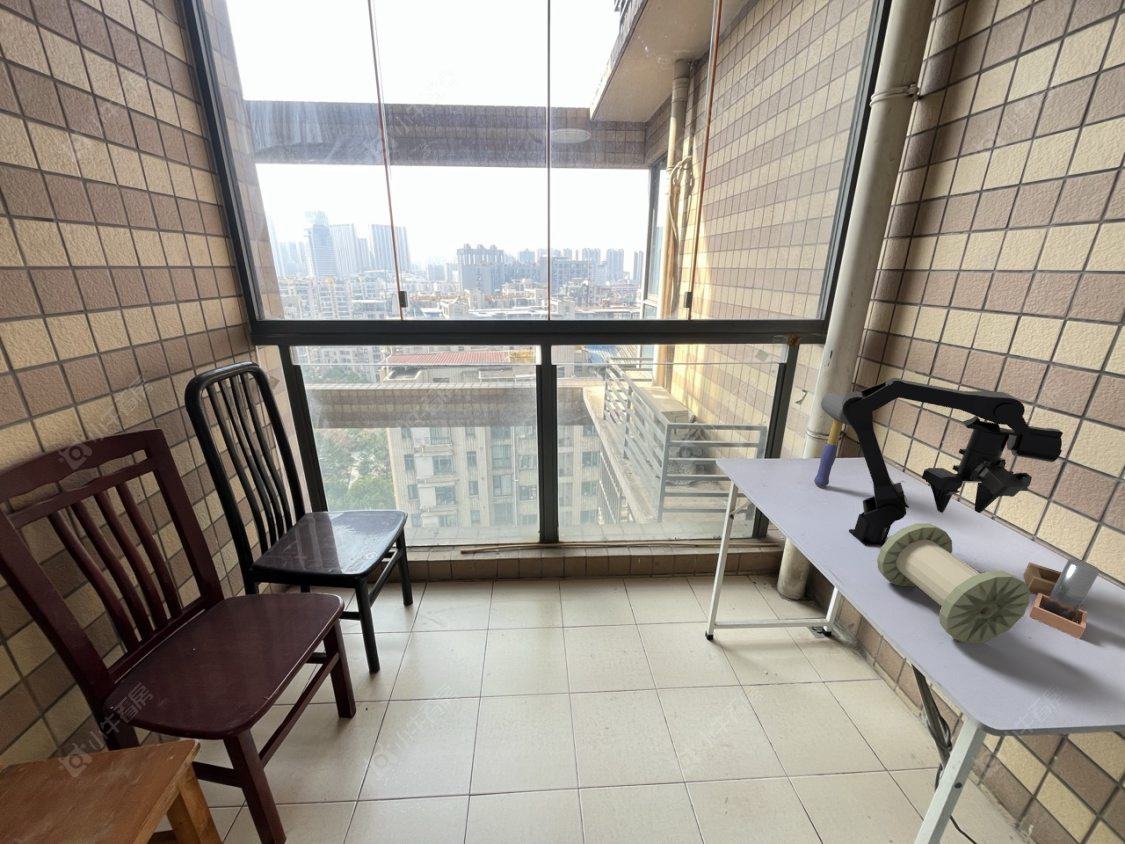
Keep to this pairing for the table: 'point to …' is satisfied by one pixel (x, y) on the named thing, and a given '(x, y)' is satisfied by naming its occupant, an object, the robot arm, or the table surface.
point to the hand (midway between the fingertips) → (958, 511)
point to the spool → (953, 583)
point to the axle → (1071, 588)
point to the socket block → (1058, 618)
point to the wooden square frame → (1040, 579)
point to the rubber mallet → (830, 436)
